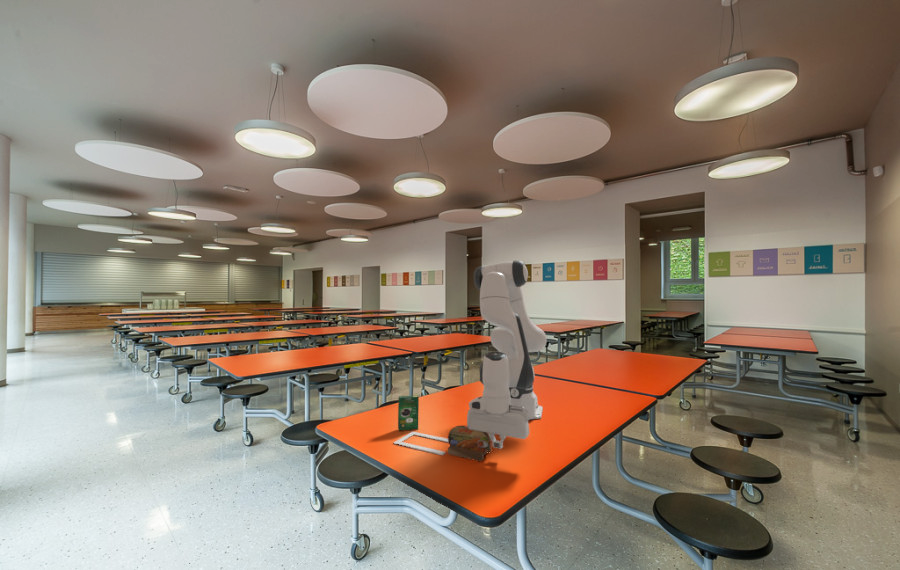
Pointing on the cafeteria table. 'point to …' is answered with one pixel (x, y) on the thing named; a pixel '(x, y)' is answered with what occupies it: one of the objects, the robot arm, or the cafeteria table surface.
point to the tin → (469, 439)
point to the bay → (421, 446)
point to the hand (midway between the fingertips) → (497, 447)
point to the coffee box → (408, 412)
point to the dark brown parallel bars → (466, 453)
